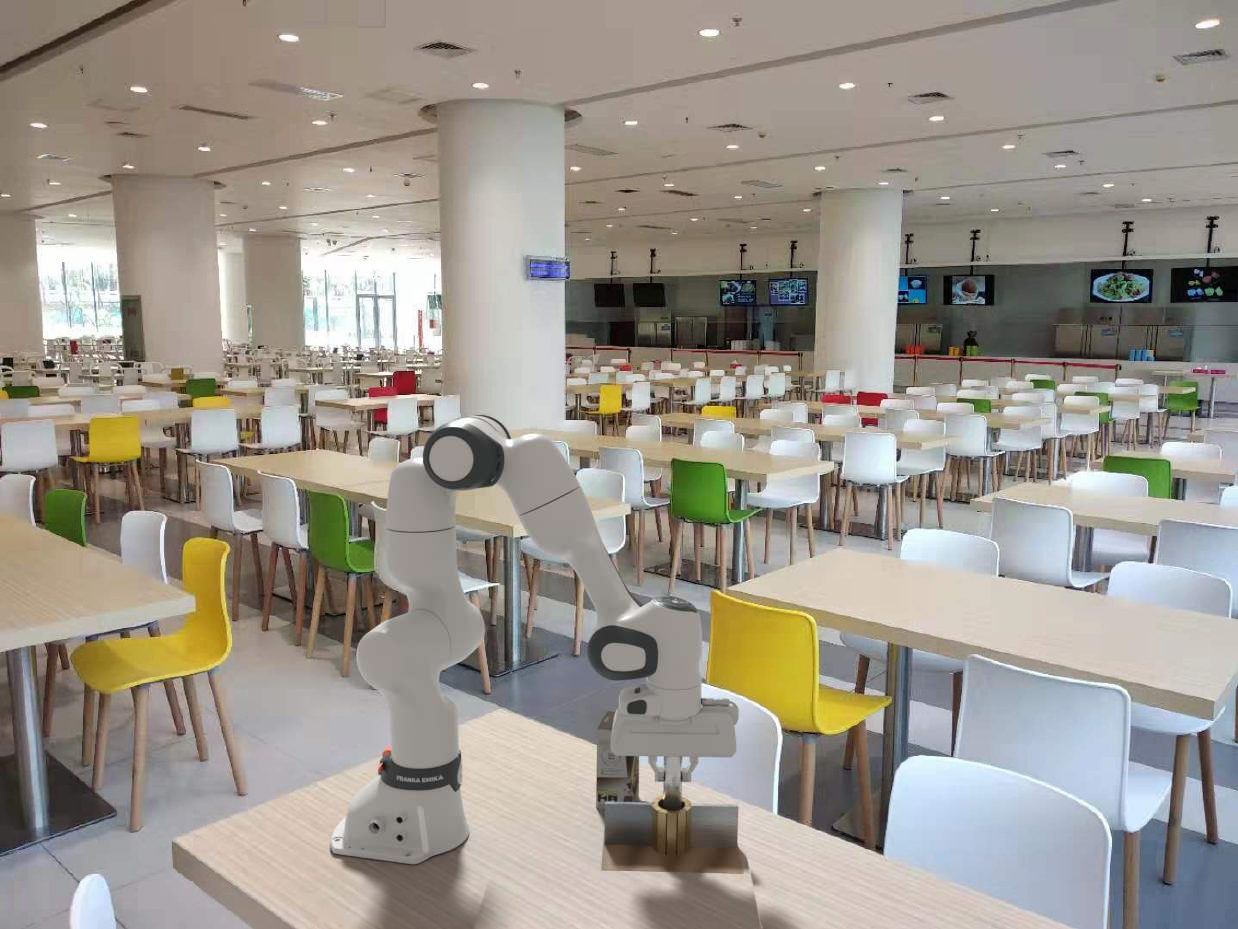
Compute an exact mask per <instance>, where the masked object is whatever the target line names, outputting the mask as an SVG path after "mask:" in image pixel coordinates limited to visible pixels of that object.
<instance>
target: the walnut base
mask: <svg viewBox="0 0 1238 929" xmlns="http://www.w3.org/2000/svg"><path fill="white" fill-rule="evenodd" d="M604 841H605V830H604V831H603V843H602V856H601V867H600V869H601V870H600V871H626V872H628V871H629V872H663V873H665V872H666V873H671V872H672V873H703V874H704V873H706V874H708V873H709V874H742V875H743V874H744V869H743V863H742V859H741V854H740V848H739V844H738V841H737V848H727V847H691V848H690V849H689V850H688V851H687V852H685V853H683V854H680V855H667V854H666V855H664V854H661V853H658V852H656V851H655V850H654V849H653V848H652V847H651V846H643V845H604Z"/></svg>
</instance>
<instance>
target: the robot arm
mask: <svg viewBox="0 0 1238 929" xmlns="http://www.w3.org/2000/svg"><path fill="white" fill-rule="evenodd" d="M423 447H424V448H423V450H422V457H412V458H409V459H406V460H404V461H402V462H400V463H398V464H397V465H396V466H395V467H394V469H393V470H392V472H391V475H390V478H389V479H390V480H389V486H388V492H387V499H386V500H387V501H386V516H385V519H386V520H385V521H386V527H385V529H386V533H385V534H386V562H387V565H386V566H387V573H388V576H389V577H390V579H391V580H392V581H393V582H394V583H396V584H397V585H399V586H400V587H402V588H403V589H404V591H405V594H406V596H407V597H406V598H407V602H408V611H407V612H405V613H402V614H400V615H397V616H395V617H392V618H389V619H387V620H384V621H382V622H381V623H379V624H378V625H376V626H375V627H374V628H372V629H371V630H370V631H368V632H367V633H366V634H364V635H363V636H362V638H360V641H359V642H358V644H357V647H356V656H355V657H356V665H357V668H358V671H359V673H360V675H361V676H362V678H363V679H364V681H365V682H366V683H367V684H369V685H370V686H371V687H372V688H374V689H376V690H377V691H379V693H380V694H381V696H382V697H383V699H384V701H385V704H386V707H387V710H388V716H389V725H390V729H389V730H390V745H387V746H386V747H385V749H384V750H383V752H382V757H381V759H380V760H379V765H378V767H377V774H378V776H377V777H376V778H374V779H373V780H371V781H370V782H369V783H367V784H366V785H363V787H362V788H361V789H360V790H358V791H357V792H356V793H355V795H354V796H353V797H352V799H351V801H350V803H349V805H348V808H347V811H346V815H345V816H344V817H343V818H342V819H341V820H340V821H339V823H338V824H337V825H336V826H335V828H334V830H333V832H332V834H331V837H330V849H331V852H332V853H333V854H337V855H341V856H347V857H348V856H349V857H357V858H362V859H363V858H364V859H372V860H377V861H378V860H379V861H386V862H394V863H400V864H408V865H418V864H420V863H423V862H424V861H426V860H428V859H430V858H431V857H433V856H437V855H440V854H443V853H446V852H449V851H451V850H453V849H456V848H457V847H458V846H459V847H460V845H461V844H463V843H464V842H465V841H466V840H467V839H468V837H469V834H470V826H469V824H468V822H467V818H466V813H465V809H464V805H463V804H464V803H463V796H462V789H461V786H462V782H463V761H462V752H461V749H460V746H459V745H460V744H459V709H458V707H457V705H456V703H455V702H454V701H453V700H452V699H450V698H449V697H447V696H445V695H443V692H442V691H441V690H442V689H441V686H440V674H441V672H442V671H444V670H446V669H448V668H450V667H453V666H454V665H457V664H459V663H460V662H463V661H464V660H465V659H467V658H468V657H469V656H470V655H471V654H472V653H474V651H476V650H477V649H478V648H479V647H480V645H482V643H483V641H484V638H485V635H486V633H485V632H486V626H485V625H486V624H485V620H484V617H483V615H482V613H481V611H480V609H478V607H477V606H476V605H475V604H474V603H472V602H471V601H469V599H468V597H467V596H466V594H465V591H464V589H463V586H462V584H461V579H460V576H459V571H458V559H457V558H458V557H457V555H458V554H457V552H458V551H457V531H456V530H457V529H456V528H457V527H456V523H457V520H456V502H457V498H458V495H459V493H460V492H461V491H462V492H463V491H470V490H475V489H476V490H477V489H482V488H483V489H484V488H491V487H493V486H495V485H496V486H498V487H500V488H501V489H502V490H503V491H504V493H506V495H507V497H508V498H509V500H510V502H511V504H512V507H513V509H514V511H515V513H516V515H517V517H518V520H519V521H520V523H521V525H522V527H523V529H524V530H525V532H526V534H527V535H528V537H529V538H530V539H531V541H532V542H533V544H534V545H535V546H536V548H537V549H538V550H539V551H541V552H542V553H544V554H546V555H548V556H552V557H556V558H558V559H561V560H562V561H564V562H566V563H567V564H569V565H570V567H571V568H572V569H573V571H574V572H575V573H576V575H577V577H578V578H579V581H580V583H581V585H582V586H583V588H584V590H585V591H586V594H587V595H588V597H589V599H590V601H591V603H592V604H593V606H594V609H595V611H596V612H595V614H596V621H597V622H596V627H595V629H594V630H593V632H592V634H591V636H590V639H589V641H588V642H587V649H586V654H587V659H588V662H589V664H590V666H591V667H592V670H594V671H595V673H597V675H599V676H600V677H603V678H605V679H606V680H610V681H613V682H614V681H617V682H618V681H629V680H631V681H632V680H637V679H638V680H640V679H643V678H646V681H645V682H642V683H639V684H635V685H631V686H629V687H625V688H623V689H622V690H621V691H620V693H619V698H618V707H617V709H616V711H614V712H615V715H614V720H613V727H612V735H611V751H612V752H613V753H614V755H616V756H639V757H648V758H647V759H648V760H647V761H648V763H649V765H650V768H651V769H652V771H653V772H654V782H655V783H659V782H661V783H664V766H663V767H659V765H658V757H664V756H666V757H682V758H688V759H689V764H687V766H686V767H682V783H692V773H693V772H694V771H695V769H696V767H697V765H698V764H699V758H733V756H734V755H735V754H736V753H737V738H736V737H737V734H736V729H735V728H736V727H735V726H736V724H737V723H738V722H739V718H740V715H739V714H740V713H739V712H740V711H739V707H738V705H737V704H736V703H735V702H734V701H731V700H730V699H729V698H711V697H709V698H707V697H702V689H703V687H702V685H703V684H702V682H703V681H702V680H703V679H702V674H701V670H700V666H701V665H700V663H701V661H702V657H703V631H702V630H703V629H702V628H703V627H702V622H701V616H700V612H699V611H698V609H697V607H696V606H694V604H693V603H691V602H690V601H688V600H685V599H683V598H681V597H677V596H673V595H672V596H669V595H661V596H656V597H654V598H652V600H650V601H649V602H647V603H645V604H643V602H641V601H640V600H638V598H636V597H635V596H634V595H633V593H631V591H630V590H629V589H628V587H627V585H626V584H625V582H624V580H623V578H622V576H621V574H620V573H619V570H618V569H617V566H616V565H615V563H614V561H613V560H612V558H611V556H610V553H609V552H608V550H607V548H606V546H605V544H604V543H603V539H602V538H601V535H600V532H599V529H598V526H597V524H596V521H595V518H594V515H593V512H592V510H591V506H590V503H589V502H588V500H587V499H588V498H587V497H586V494H585V492H584V490H583V488H582V486H581V484H580V482H579V480H578V478H577V476H576V474H575V473H574V471H573V469H572V468H571V466H570V464H569V462H568V460H567V459H566V458H565V456H564V455H563V453H562V452H561V450H560V449H559V447H558V446H557V445H556V443H555V441H553V439H551V438H550V437H549V436H547V435H546V434H543V433H527V434H523V435H520V436H519V437H515V438H512V437H511V434H510V432H509V431H508V429H507V427H506V426H505V425H504V424H503V423H502V422H501V421H499V420H498V419H496V418H494V417H493V416H490V415H485V414H475V415H474V414H473V415H464V416H461V417H457V418H455V419H453V420H451V421H450V422H446V423H444V424H441V425H440V426H438V427H436V429H435V430H434V431H432V433H431V434H430V435H429V437H428V438H427V440H426V441H425V444H424V446H423Z"/></svg>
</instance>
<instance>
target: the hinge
mask: <svg viewBox="0 0 1238 929" xmlns="http://www.w3.org/2000/svg"><path fill="white" fill-rule="evenodd" d="M604 831H605V841H604V840H603V841H604V845H643V846H651V847H652V848H653V849H654V850H655V851H656V852H658V853H661V854H664V855H666V854H667V855H680V854H683V853H685V852H687V851H688V850H689V849H690V848H691V847H727V848H737V842H738V836H739V835H738V834H739V832H738V831H739V804H735V803H733V804H727V803H726V804H725V803H692V802H691V801H690V800H689V799H687V798H686V797H684V796H682V809H680V810H676V811H668V810H665V809H664V808H663V795H660V796H656V797H654V799H652V800H651V802H649V801H647V802H643V801H640V802H639V801H634V802H607V801H605V809H604Z"/></svg>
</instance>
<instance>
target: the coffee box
mask: <svg viewBox="0 0 1238 929" xmlns="http://www.w3.org/2000/svg"><path fill="white" fill-rule="evenodd" d="M615 712H616V711H610V710H609V711H608V710H607V711H606V713H605V714H604V716H603V718H602V719H601V721H600V723H599V725H598V726H597V728H596V729H597V730H596V736H597V738H596V783H595V785H596V786H595V787H596V788H595V789H596V790H595V791H596V792H595V797H596V799H595V808H596V809H600V810H605V801H607V802H638V799H639V797H640V796H639V794H640V790H639V789H640V756H616V755H614V753H613V752H612V751H611V735H612V727H613V720H614V715H615Z"/></svg>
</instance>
